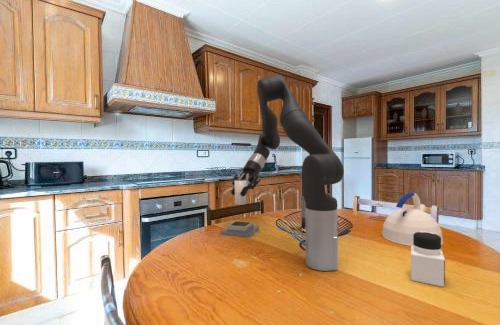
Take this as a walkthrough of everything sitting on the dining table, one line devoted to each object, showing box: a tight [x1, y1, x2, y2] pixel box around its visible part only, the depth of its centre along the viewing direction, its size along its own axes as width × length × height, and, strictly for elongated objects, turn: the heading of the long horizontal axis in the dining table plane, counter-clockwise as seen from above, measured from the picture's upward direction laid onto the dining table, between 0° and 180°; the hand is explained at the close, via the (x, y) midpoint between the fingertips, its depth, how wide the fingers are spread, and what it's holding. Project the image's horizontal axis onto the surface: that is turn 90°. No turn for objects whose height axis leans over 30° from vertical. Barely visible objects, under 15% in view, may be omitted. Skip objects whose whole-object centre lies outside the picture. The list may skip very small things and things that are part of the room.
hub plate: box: [220, 220, 260, 238], centre depth 113 cm, size 13×12×4 cm
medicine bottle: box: [410, 232, 446, 288], centre depth 68 cm, size 7×7×12 cm
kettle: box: [381, 192, 444, 247], centre depth 101 cm, size 20×21×18 cm
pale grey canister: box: [234, 179, 247, 205], centre depth 112 cm, size 5×5×10 cm
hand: (237, 194), depth 111 cm, fingers closed on pale grey canister, 4 cm apart
